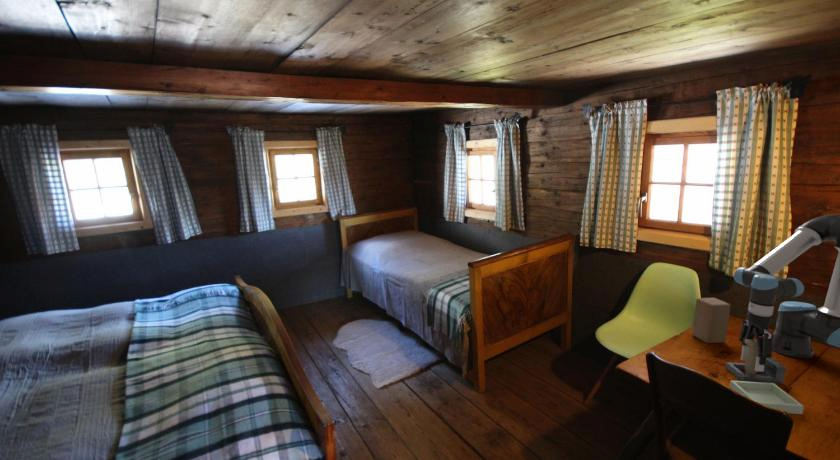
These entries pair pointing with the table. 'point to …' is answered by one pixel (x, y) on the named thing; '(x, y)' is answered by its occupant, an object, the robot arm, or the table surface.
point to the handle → (751, 356)
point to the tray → (767, 395)
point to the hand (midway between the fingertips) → (751, 365)
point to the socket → (771, 372)
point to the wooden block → (711, 320)
